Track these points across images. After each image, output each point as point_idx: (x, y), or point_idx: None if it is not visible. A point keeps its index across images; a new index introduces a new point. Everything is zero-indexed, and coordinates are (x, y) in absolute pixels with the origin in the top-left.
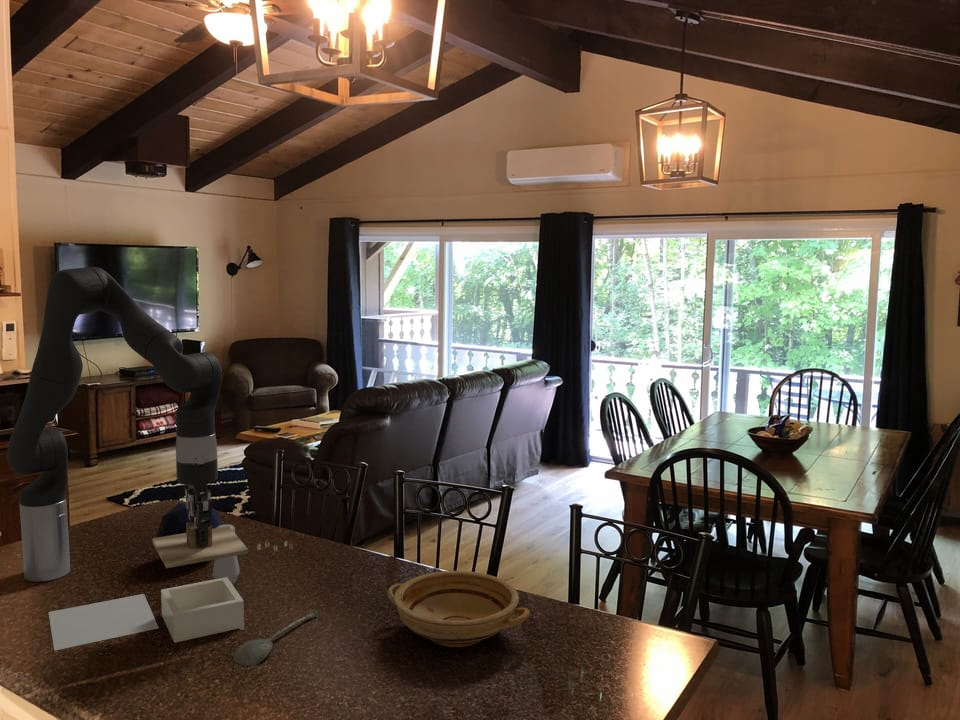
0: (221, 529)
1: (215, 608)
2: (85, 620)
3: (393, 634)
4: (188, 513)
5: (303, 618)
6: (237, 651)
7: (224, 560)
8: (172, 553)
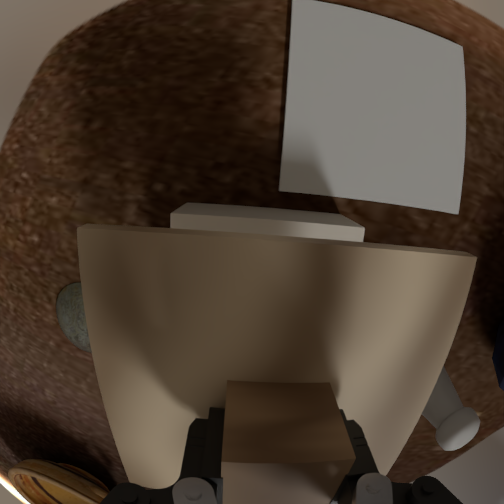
0: None
1: None
2: (403, 76)
3: (92, 456)
4: (410, 489)
5: None
6: None
7: None
8: (211, 295)
